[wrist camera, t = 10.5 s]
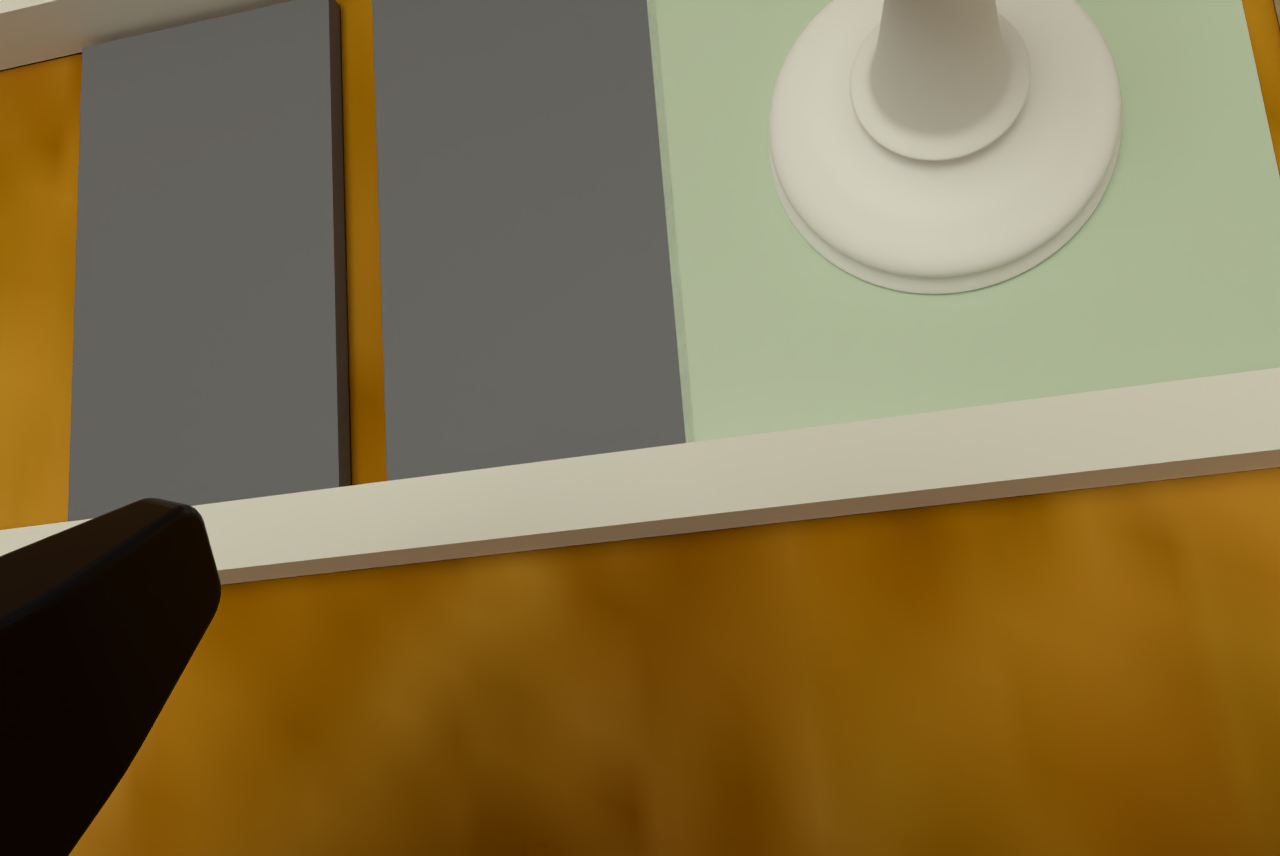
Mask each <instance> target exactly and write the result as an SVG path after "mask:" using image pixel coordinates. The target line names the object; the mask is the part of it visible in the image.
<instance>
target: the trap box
mask: <svg viewBox="0 0 1280 856" xmlns="http://www.w3.org/2000/svg"><path fill="white" fill-rule="evenodd" d="M649 3H650V2H649ZM650 4H651V3H650ZM1274 4H1275V8H1276V13H1277V17H1278V22H1279V26H1280V0H1274ZM372 5H373V38H374V70H375V103H376V135H377V168H378V201H379V233H380V266H381V298H382V331H383V363H384V396H385V429H386V461H387V481H383V482H376V483H368V484H360V485H352V486H351V469H350V427H349V385H348V343H347V300H346V258H345V216H344V174H343V132H342V90H341V48H340V6H339V4H338V3H337V2H336V1H335V0H0V70H4V69H8V68H13V67H17V66H22V65H26V64H31V63H35V62H40V61H44V60H49V59H53V58H58V57H62V56H67V55H71V54H76V53H80V52H82V75H81V108H80V141H79V174H78V207H77V240H76V273H75V306H74V339H73V372H72V405H71V438H70V471H69V504H68V522H61V523H53V524H46V525H38V526H30V527H22V528H14V529H6V530H0V556H2V555H4V554H7V553H9V552H12V551H14V550H17V549H19V548H22V547H24V546H27V545H29V544H32V543H34V542H37V541H39V540H42V539H44V538H46V537H49V536H51V535H54V534H56V533H59V532H61V531H64V530H66V529H69V528H71V527H74V526H76V525H79V524H81V523H84V522H86V521H89V520H91V519H93V518H96V517H98V516H101V515H103V514H106V513H108V512H111V511H113V510H116V509H118V508H121V507H123V506H126V505H128V504H131V503H133V502H136V501H138V500H141V499H144V498H159V499H164V500H168V501H173V502H177V503H182V504H187V505H190V506H192V507H194V508H195V509H196V510H197V511H198V512H199V513H200V514H201V516H202V518H203V520H204V523H205V527H206V530H207V534H208V537H209V541H210V545H211V548H212V552H213V556H214V559H215V563H216V566H217V570H218V574H219V577H220V582H221V585H223V584H232V583H241V582H250V581H259V580H268V579H277V578H286V577H295V576H304V575H313V574H322V573H331V572H340V571H349V570H358V569H367V568H376V567H385V566H394V565H403V564H412V563H421V562H430V561H439V560H448V559H457V558H466V557H475V556H484V555H493V554H502V553H511V552H520V551H529V550H538V549H547V548H556V547H565V546H574V545H583V544H592V543H601V542H610V541H619V540H628V539H637V538H646V537H655V536H664V535H673V534H682V533H691V532H700V531H709V530H718V529H727V528H736V527H745V526H754V525H763V524H772V523H781V522H790V521H799V520H808V519H817V518H826V517H835V516H844V515H853V514H862V513H871V512H880V511H889V510H898V509H907V508H916V507H925V506H934V505H943V504H952V503H961V502H970V501H979V500H988V499H997V498H1006V497H1015V496H1024V495H1033V494H1042V493H1051V492H1060V491H1069V490H1078V489H1087V488H1096V487H1105V486H1114V485H1123V484H1132V483H1141V482H1150V481H1159V480H1168V479H1177V478H1186V477H1195V476H1204V475H1213V474H1222V473H1231V472H1240V471H1249V470H1258V469H1267V468H1276V467H1280V367H1279V368H1271V369H1263V370H1256V371H1248V372H1240V373H1232V374H1224V375H1216V376H1208V377H1201V378H1193V379H1185V380H1177V381H1169V382H1161V383H1153V384H1146V385H1138V386H1130V387H1122V388H1114V389H1106V390H1098V391H1091V392H1083V393H1075V394H1067V395H1059V396H1051V397H1043V398H1036V399H1028V400H1020V401H1012V402H1004V403H996V404H988V405H981V406H973V407H965V408H957V409H949V410H941V411H933V412H926V413H918V414H910V415H902V416H894V417H886V418H878V419H871V420H863V421H855V422H847V423H839V424H831V425H823V426H816V427H808V428H800V429H792V430H784V431H776V432H768V433H761V434H753V435H745V436H737V437H729V438H721V439H713V440H706V441H698V442H690V443H686V435H685V431H687V430H685V426H684V424H685V423H684V421H685V420H684V419H685V417H687V416H688V415H687V416H685V417H684V415H683V408H684V407H683V405H684V404H686V403H684V404H683V403H682V401H683V400H684V399H685V398H684V399H683V400H682V395H683V394H682V393H681V390H682V389H681V388H682V387H681V382H682V381H683V380H682V381H680V378H681V377H680V371H681V370H679V359H680V358H679V359H678V352H679V350H680V349H679V350H678V348H677V345H678V344H677V339H678V337H679V336H678V337H677V336H676V324H675V321H676V319H677V317H676V319H675V314H674V313H675V312H674V302H673V298H674V297H673V293H674V291H672V286H673V287H674V285H672V280H671V268H670V264H671V263H670V260H671V259H670V257H669V246H668V235H667V234H668V233H667V230H668V229H667V224H668V223H667V224H666V212H665V201H664V195H665V194H664V190H665V189H664V188H663V178H662V170H663V169H662V167H661V156H662V155H663V153H662V155H661V154H660V151H661V150H662V149H663V148H662V149H661V150H660V145H661V144H660V145H659V133H658V122H661V121H659V120H658V122H657V111H659V110H657V111H656V100H655V99H656V98H655V90H656V89H655V88H654V79H655V78H654V77H655V75H654V77H653V70H654V69H653V66H652V65H653V64H652V55H651V53H652V51H651V46H652V45H651V44H652V43H650V36H651V35H650V32H651V29H650V32H649V23H650V22H649V21H648V14H649V13H648V12H649V11H648V9H647V0H372ZM652 5H653V4H652ZM649 8H650V7H649ZM654 9H655V8H654ZM654 9H653V10H654ZM654 12H655V11H654ZM654 12H653V14H654ZM655 17H656V16H655ZM649 18H650V17H649ZM653 18H654V17H653ZM653 18H652V19H653ZM650 19H651V18H650ZM655 19H656V18H655ZM650 21H652V20H650ZM655 22H656V21H655ZM653 23H654V22H653ZM650 24H651V23H650ZM654 24H655V23H654ZM657 26H658V25H657ZM650 27H651V26H650ZM652 29H653V27H652ZM656 29H658V28H656ZM656 31H657V30H656ZM652 32H654V31H652ZM654 34H655V32H654ZM654 34H653V35H654ZM657 35H658V33H657ZM653 38H655V37H653ZM656 39H658V38H656ZM652 40H653V39H652ZM655 41H657V40H655ZM651 42H652V41H651ZM656 43H657V42H656ZM657 45H658V44H657ZM658 46H659V45H658ZM653 47H654V46H653ZM658 48H659V47H658ZM656 49H657V47H656ZM659 50H660V48H659ZM655 51H656V50H655ZM655 51H653V53H654V52H655ZM656 56H657V55H656ZM658 56H659V55H658ZM653 57H654V55H653ZM656 60H658V59H656ZM660 60H661V59H660ZM657 63H659V62H657ZM657 63H656V64H657ZM659 67H660V66H659ZM659 67H658V68H659ZM655 68H656V67H655ZM658 68H657V69H658ZM659 69H660V68H659ZM655 70H656V69H655ZM655 70H654V71H655ZM658 71H659V72H660V70H658ZM659 75H660V74H659ZM658 77H659V76H658ZM656 78H657V77H656ZM661 79H662V77H661ZM656 80H658V78H657V79H656ZM656 83H657V82H656ZM661 84H662V81H661ZM657 85H658V84H657ZM656 87H657V86H656ZM661 88H662V86H661ZM662 91H663V90H662ZM661 93H662V92H661ZM657 94H658V93H657ZM659 94H660V93H659ZM662 95H663V94H662ZM658 97H659V96H658ZM660 97H661V96H660ZM662 99H663V97H662ZM658 101H659V99H658ZM662 101H663V100H662ZM657 103H658V102H657ZM664 104H665V103H664ZM657 106H658V104H657ZM657 108H658V107H657ZM659 109H660V107H659ZM664 110H665V108H664ZM661 112H662V111H661ZM659 114H660V113H659ZM664 114H665V113H664ZM662 115H663V114H662ZM659 117H660V116H659ZM665 117H666V116H665ZM665 117H664V118H665ZM662 118H663V117H662ZM662 118H661V119H662ZM662 120H663V119H662ZM664 121H665V120H664ZM664 121H663V122H664ZM665 123H666V122H665ZM662 126H663V125H662ZM665 127H666V126H665ZM661 128H662V127H661ZM662 129H663V128H662ZM662 129H661V130H662ZM663 130H664V129H663ZM665 131H666V130H665ZM660 132H661V131H660ZM663 133H664V132H663ZM665 133H666V132H665ZM660 134H662V133H660ZM662 135H663V134H662ZM665 135H666V134H665ZM660 136H661V135H660ZM661 137H662V136H661ZM661 137H660V139H661ZM667 138H668V137H667ZM664 139H665V138H664ZM660 141H662V140H660ZM667 141H668V139H667ZM665 142H666V141H665ZM660 143H661V142H660ZM662 143H664V141H663V142H662ZM663 145H664V144H663ZM667 146H668V145H667ZM664 148H665V147H664ZM664 150H665V149H664ZM667 150H668V149H667ZM662 151H663V150H662ZM665 151H666V150H665ZM665 151H664V152H665ZM666 153H667V152H666ZM666 153H665V154H666ZM668 153H669V152H668ZM660 155H661V156H660ZM665 157H666V156H665ZM668 157H669V156H668ZM663 158H664V157H663ZM666 159H667V158H666ZM666 161H667V160H666ZM668 161H669V158H668ZM663 162H664V161H663ZM669 164H670V163H669ZM663 166H664V165H663ZM668 166H669V165H668ZM668 166H666V167H668ZM663 168H664V167H663ZM668 168H669V167H668ZM667 170H668V169H667ZM665 171H666V170H665ZM670 172H671V171H670ZM663 174H664V172H663ZM666 174H667V173H666ZM670 174H671V173H670ZM665 177H666V176H665ZM668 178H669V177H668ZM665 180H666V179H665ZM669 180H670V179H669ZM670 183H671V182H670ZM665 186H666V185H665ZM669 187H670V186H668V187H667V188H669ZM671 187H672V186H671ZM663 189H664V190H663ZM671 189H672V188H671ZM667 190H668V189H667ZM670 191H672V190H670ZM666 193H667V192H666ZM671 193H672V192H671ZM667 195H668V194H667ZM667 195H666V196H667ZM669 195H670V194H669ZM672 196H673V195H672ZM670 197H671V196H670ZM670 197H669V198H668V199H670ZM672 198H673V197H672ZM665 200H666V197H665ZM667 201H669V200H667ZM673 203H674V202H673ZM666 204H667V202H666ZM671 204H672V203H671ZM668 207H669V206H668ZM666 209H667V208H666ZM668 209H669V208H668ZM673 211H674V210H672V212H673ZM670 214H671V213H670ZM667 215H668V214H667ZM674 216H675V215H674ZM674 216H673V217H674ZM667 217H668V216H667ZM671 217H672V215H671ZM669 218H670V217H669ZM674 219H675V217H674ZM667 220H668V219H667ZM674 221H675V220H674ZM669 222H670V221H669ZM669 224H670V223H669ZM674 224H675V223H674ZM669 226H670V225H669ZM672 226H673V225H672ZM672 226H671V229H674V228H672ZM671 231H672V230H671ZM673 234H675V233H673ZM674 236H675V235H674ZM672 238H673V237H672ZM672 238H671V239H672ZM674 238H675V237H674ZM669 240H670V238H669ZM675 242H676V241H675ZM671 244H673V243H671ZM671 244H669V245H670V246H671ZM675 247H676V246H675ZM677 247H678V246H677ZM677 250H678V248H677ZM673 251H674V249H673ZM673 251H671V252H672V253H673ZM675 252H676V250H675ZM677 253H678V251H677ZM677 256H678V255H677ZM674 257H676V256H674ZM674 259H675V258H674ZM672 263H673V262H672ZM675 263H676V262H675ZM678 263H679V262H678ZM678 263H677V264H678ZM676 266H677V265H676ZM674 267H675V266H674ZM675 268H676V267H675ZM675 268H674V269H675ZM672 270H673V269H672ZM676 271H677V269H676ZM676 274H677V273H676ZM678 274H679V273H678ZM676 278H677V277H676ZM677 279H679V278H677ZM673 280H674V279H673ZM675 280H676V279H675ZM680 281H681V280H680ZM675 282H676V281H675ZM678 283H681V282H678ZM674 284H675V286H676V283H674ZM680 286H681V285H680ZM675 289H676V288H675ZM673 290H674V289H673ZM678 291H679V290H678ZM675 292H676V291H675ZM678 293H679V292H678ZM679 294H680V293H679ZM681 294H682V293H681ZM675 295H676V294H675ZM680 296H681V295H680ZM677 298H678V297H677ZM680 298H681V297H680ZM680 302H681V301H680ZM678 303H679V302H678ZM676 304H677V303H676ZM676 304H675V305H676ZM679 305H680V303H679ZM677 306H678V305H677ZM681 306H682V304H681ZM682 309H683V308H682ZM676 310H677V309H676ZM681 311H682V310H681ZM676 312H677V311H676ZM682 313H683V312H682ZM677 314H678V316H679V310H678V313H677ZM683 314H684V313H683ZM680 317H681V316H680ZM681 318H682V317H681ZM683 318H684V316H683ZM683 320H684V319H683ZM681 321H682V320H680V322H681ZM680 322H679V323H680ZM676 323H677V322H676ZM684 326H685V324H684ZM677 329H678V328H677ZM679 330H680V329H679ZM679 330H678V333H679ZM684 330H685V328H684ZM680 332H681V331H680ZM681 334H682V333H681ZM679 335H680V334H679ZM684 335H685V334H684ZM679 339H680V337H679ZM682 340H683V339H682ZM681 343H682V342H681ZM683 343H684V342H683ZM684 345H685V344H684ZM685 346H687V345H685ZM681 349H682V348H681ZM684 349H685V348H684ZM684 349H682V350H684ZM682 350H681V351H682ZM685 352H686V351H685ZM685 352H684V353H685ZM681 353H682V352H681ZM686 354H687V353H686ZM679 357H680V356H679ZM683 357H684V355H683ZM687 359H688V358H687ZM685 360H686V359H685ZM687 361H688V360H687ZM682 362H683V361H682ZM683 363H684V362H683ZM681 364H682V363H681ZM687 365H688V364H687ZM682 366H684V365H682ZM687 367H688V366H687ZM687 369H688V368H687ZM684 370H685V368H684ZM686 371H687V370H686ZM684 372H685V371H684ZM685 373H686V372H685ZM685 373H683V374H685ZM688 375H689V374H687V376H688ZM684 376H685V375H684ZM684 379H685V378H684ZM686 379H687V378H686ZM687 381H688V380H687ZM687 381H686V384H687ZM683 382H684V381H683ZM683 382H682V384H683ZM688 382H689V381H688ZM686 384H685V385H686ZM689 384H690V383H689ZM682 386H683V385H682ZM688 386H689V385H688ZM684 387H685V386H684ZM686 387H687V386H686ZM689 390H690V389H689ZM688 392H689V391H688ZM685 393H686V392H685ZM686 394H687V393H686ZM684 395H685V394H684ZM686 396H687V395H686ZM686 396H685V397H686ZM690 396H691V395H690ZM683 397H684V396H683ZM688 398H689V397H687V399H688ZM687 399H685V400H687ZM683 402H684V401H683ZM688 403H689V402H688ZM687 405H689V404H687ZM685 406H686V405H685ZM685 408H687V407H685ZM689 409H690V407H689ZM684 410H685V409H684ZM688 411H689V410H688ZM690 411H691V410H690ZM688 413H690V412H688ZM684 414H685V411H684ZM691 415H692V413H691ZM688 417H689V416H688ZM692 417H693V416H692ZM686 420H687V418H686ZM689 420H690V419H689ZM687 421H688V420H687ZM687 421H686V422H687ZM691 422H693V421H691ZM688 424H689V422H688ZM688 424H687V425H688ZM693 424H694V423H693ZM691 426H692V424H691ZM686 427H687V426H686ZM693 428H694V426H693ZM687 429H688V428H687ZM691 430H692V428H691ZM691 432H692V431H691ZM691 432H690V433H691ZM686 433H687V432H686ZM690 435H691V434H690ZM687 436H688V435H687ZM689 440H690V439H689ZM694 440H695V439H694ZM690 441H691V440H690Z"/></svg>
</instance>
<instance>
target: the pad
mask: <svg viewBox="0 0 1280 856" xmlns="http://www.w3.org/2000/svg"><path fill="white" fill-rule="evenodd" d="M831 1H833V0H647V9H648V11H649V12H648V13H649V14H648V21H649V22H650V23H651V24H650V23H649V32H650V29H651V32H650V35H651V36H650V43H652V44H651V45H652V46H651V51H652V53H651V55H652V64H653V65H652V66H653V69H654V70H655V69H656V70H655V71H654V70H653V77H654V75H655V77H654V78H655V79H654V88H655V89H656V90H655V98H656V99H655V100H656V111H657V110H659V111H657V122H658V120H659V121H661V122H658V133H659V145H660V144H661V145H660V150H661V149H662V148H663V149H662V150H663V151H662V150H661V151H660V154H661V155H662V153H663V155H662V156H661V155H660V156H661V167H662V169H663V170H662V178H663V188H664V189H665V190H664V189H663V190H664V194H665V195H664V201H665V212H666V224H667V223H668V224H667V229H668V230H667V233H668V234H667V235H668V246H669V257H670V259H671V260H670V263H671V264H670V268H671V280H672V285H674V287H673V286H672V291H674V293H673V297H674V298H673V302H674V312H675V313H674V314H675V319H676V317H677V319H676V321H675V324H676V336H677V337H678V336H679V337H680V339H679V337H678V339H677V344H678V345H677V348H678V350H679V349H680V350H679V352H678V359H679V358H680V359H679V370H681V371H680V377H681V378H680V381H682V380H683V381H684V382H683V381H682V382H683V384H682V382H681V387H682V388H681V389H682V390H681V393H682V394H683V395H682V400H683V399H684V398H685V399H687V397H689V398H688V399H687V400H685V399H684V400H683V401H684V402H683V401H682V403H683V404H684V403H686V404H684V405H683V407H684V408H683V415H684V417H685V416H687V415H688V416H689V417H688V416H687V417H685V419H684V420H685V421H684V423H685V424H684V426H685V430H687V431H685V435H686V443H690V442H698V441H706V440H713V439H721V438H729V437H737V436H745V435H753V434H761V433H768V432H776V431H784V430H792V429H800V428H808V427H816V426H823V425H831V424H839V423H847V422H855V421H863V420H871V419H878V418H886V417H894V416H902V415H910V414H918V413H926V412H933V411H941V410H949V409H957V408H965V407H973V406H981V405H988V404H996V403H1004V402H1012V401H1020V400H1028V399H1036V398H1043V397H1051V396H1059V395H1067V394H1075V393H1083V392H1091V391H1098V390H1106V389H1114V388H1122V387H1130V386H1138V385H1146V384H1153V383H1161V382H1169V381H1177V380H1185V379H1193V378H1201V377H1208V376H1216V375H1224V374H1232V373H1240V372H1248V371H1256V370H1263V369H1271V368H1279V367H1280V177H1279V172H1278V168H1277V163H1276V158H1275V154H1274V149H1273V144H1272V140H1271V135H1270V130H1269V126H1268V121H1267V117H1266V112H1265V107H1264V103H1263V98H1262V93H1261V89H1260V84H1259V79H1258V75H1257V70H1256V65H1255V61H1254V56H1253V51H1252V47H1251V42H1250V37H1249V33H1248V28H1247V23H1246V19H1245V14H1244V9H1243V5H1242V0H1074V1H1075V2H1076V3H1077V4H1078V5H1079V6H1080V7H1081V8H1082V9H1083V10H1084V11H1085V12H1086V13H1087V15H1088V16H1089V17H1090V18H1091V20H1092V21H1093V22H1094V24H1095V25H1096V27H1097V28H1098V30H1099V31H1100V33H1101V34H1102V36H1103V38H1104V40H1105V42H1106V44H1107V46H1108V48H1109V50H1110V53H1111V55H1112V58H1113V61H1114V64H1115V67H1116V71H1117V75H1118V80H1119V86H1120V95H1121V140H1120V147H1119V153H1118V157H1117V161H1116V165H1115V168H1114V171H1113V174H1112V177H1111V180H1110V182H1109V184H1108V187H1107V189H1106V191H1105V193H1104V195H1103V197H1102V199H1101V200H1100V202H1099V204H1098V205H1097V207H1096V209H1095V210H1094V212H1093V213H1092V214H1091V216H1090V217H1089V219H1088V220H1087V221H1086V222H1085V224H1084V225H1083V226H1082V227H1081V228H1080V230H1079V231H1078V232H1077V233H1076V234H1075V235H1074V236H1073V237H1072V238H1071V239H1070V240H1069V241H1068V242H1067V243H1066V244H1065V245H1063V246H1062V247H1061V248H1060V249H1059V250H1057V251H1056V252H1055V253H1054V254H1052V255H1051V256H1050V257H1048V258H1047V259H1045V260H1044V261H1042V262H1041V263H1039V264H1038V265H1036V266H1034V267H1033V268H1031V269H1029V270H1027V271H1025V272H1023V273H1021V274H1019V275H1017V276H1015V277H1013V278H1010V279H1008V280H1005V281H1003V282H1000V283H997V284H994V285H991V286H988V287H984V288H980V289H975V290H971V291H965V292H958V293H948V294H920V293H910V292H903V291H897V290H892V289H888V288H884V287H881V286H878V285H875V284H872V283H869V282H866V281H864V280H861V279H859V278H857V277H855V276H853V275H851V274H849V273H847V272H845V271H843V270H842V269H840V268H838V267H837V266H835V265H834V264H832V263H831V262H830V261H828V260H827V259H826V258H824V257H823V256H822V255H821V254H819V253H818V252H817V251H816V250H815V249H814V248H813V247H812V246H811V245H810V244H809V243H808V242H807V241H806V240H805V239H804V238H803V237H802V235H801V234H800V233H799V232H798V230H797V229H796V228H795V226H794V225H793V223H792V222H791V220H790V219H789V217H788V215H787V214H786V212H785V210H784V208H783V206H782V204H781V202H780V199H779V197H778V194H777V192H776V189H775V185H774V182H773V178H772V174H771V169H770V162H769V150H768V138H769V112H770V104H771V99H772V94H773V90H774V86H775V83H776V80H777V77H778V74H779V72H780V69H781V67H782V65H783V63H784V60H785V58H786V56H787V55H788V53H789V51H790V49H791V48H792V46H793V44H794V43H795V41H796V40H797V38H798V37H799V35H800V34H801V33H802V31H803V30H804V29H805V28H806V26H807V25H808V24H809V23H810V22H811V21H812V19H813V18H814V17H815V16H816V15H817V14H818V13H819V12H820V11H821V10H822V9H823V8H825V7H826V6H827V5H828V4H829V3H830V2H831ZM649 2H650V3H651V4H650V3H649ZM652 4H653V5H652ZM649 7H650V8H649ZM654 8H655V9H654ZM653 9H654V10H653ZM654 11H655V12H654ZM653 12H654V14H653ZM655 16H656V17H655ZM649 17H650V18H651V19H650V18H649ZM653 17H654V18H653ZM652 18H653V19H652ZM655 18H656V19H655ZM650 20H652V21H650ZM655 21H656V22H655ZM653 22H654V23H655V24H654V23H653ZM657 25H658V26H657ZM650 26H651V27H650ZM652 27H653V29H652ZM656 28H658V29H656ZM656 30H657V31H656ZM652 31H654V32H655V34H654V32H652ZM657 33H658V35H657ZM653 34H654V35H653ZM653 37H655V38H653ZM656 38H658V39H656ZM652 39H653V40H652ZM655 40H657V41H655ZM651 41H652V42H651ZM656 42H657V43H656ZM657 44H658V45H659V46H658V45H657ZM653 46H654V47H653ZM656 47H657V49H656ZM658 47H659V48H660V50H659V48H658ZM655 50H656V51H655ZM653 51H655V52H654V53H653ZM653 55H654V57H653ZM656 55H657V56H656ZM658 55H659V56H658ZM656 59H658V60H656ZM660 59H661V60H660ZM657 62H659V63H657ZM656 63H657V64H656ZM659 66H660V67H659ZM655 67H656V68H655ZM658 67H659V68H660V69H659V68H658ZM657 68H658V69H657ZM658 70H660V72H659V71H658ZM659 74H660V75H659ZM658 76H659V77H658ZM656 77H657V78H658V80H656V79H657V78H656ZM661 77H662V79H661ZM661 81H662V84H661ZM656 82H657V83H656ZM657 84H658V85H657ZM656 86H657V87H656ZM661 86H662V88H661ZM662 90H663V91H662ZM661 92H662V93H661ZM657 93H658V94H657ZM659 93H660V94H659ZM662 94H663V95H662ZM658 96H659V97H658ZM660 96H661V97H660ZM662 97H663V99H662ZM658 99H659V101H658ZM662 100H663V101H662ZM657 102H658V103H657ZM664 103H665V104H664ZM657 104H658V106H657ZM657 107H658V108H657ZM659 107H660V109H659ZM664 108H665V110H664ZM661 111H662V112H661ZM659 113H660V114H659ZM664 113H665V114H664ZM662 114H663V115H662ZM659 116H660V117H659ZM665 116H666V117H665ZM662 117H663V118H662ZM664 117H665V118H664ZM661 118H662V119H663V120H662V119H661ZM664 120H665V121H664ZM663 121H664V122H663ZM665 122H666V123H665ZM662 125H663V126H662ZM665 126H666V127H665ZM661 127H662V128H663V129H664V130H663V129H662V128H661ZM661 129H662V130H661ZM665 130H666V131H665ZM660 131H661V132H660ZM663 132H664V133H663ZM665 132H666V133H665ZM660 133H662V134H663V135H662V134H660ZM665 134H666V135H665ZM660 135H661V136H662V137H661V136H660ZM660 137H661V139H660ZM667 137H668V138H667ZM664 138H665V139H664ZM667 139H668V141H667ZM660 140H662V141H660ZM663 141H664V143H662V142H663ZM665 141H666V142H665ZM660 142H661V143H660ZM663 144H664V145H663ZM667 145H668V146H667ZM664 147H665V148H664ZM664 149H665V150H666V151H665V150H664ZM667 149H668V150H667ZM664 151H665V152H664ZM666 152H667V153H666ZM668 152H669V153H668ZM665 153H666V154H665ZM665 156H666V157H665ZM668 156H669V157H668ZM663 157H664V158H663ZM666 158H667V159H666ZM668 158H669V161H668ZM666 160H667V161H666ZM663 161H664V162H663ZM669 163H670V164H669ZM663 165H664V166H663ZM668 165H669V166H668ZM666 166H668V167H669V168H668V167H666ZM663 167H664V168H663ZM667 169H668V170H667ZM665 170H666V171H665ZM670 171H671V172H670ZM663 172H664V174H663ZM666 173H667V174H666ZM670 173H671V174H670ZM665 176H666V177H665ZM668 177H669V178H668ZM665 179H666V180H665ZM669 179H670V180H669ZM670 182H671V183H670ZM665 185H666V186H665ZM668 186H670V187H669V188H667V187H668ZM671 186H672V187H671ZM671 188H672V189H671ZM667 189H668V190H667ZM670 190H672V191H670ZM666 192H667V193H666ZM671 192H672V193H671ZM667 194H668V195H667ZM669 194H670V195H669ZM666 195H667V196H666ZM672 195H673V196H672ZM670 196H671V197H670ZM665 197H666V200H665ZM669 197H670V199H668V198H669ZM672 197H673V198H672ZM667 200H669V201H667ZM666 202H667V204H666ZM673 202H674V203H673ZM671 203H672V204H671ZM668 206H669V207H668ZM666 208H667V209H666ZM668 208H669V209H668ZM672 210H674V211H673V212H672ZM670 213H671V214H670ZM667 214H668V215H667ZM671 215H672V217H671ZM674 215H675V216H674ZM667 216H668V217H667ZM673 216H674V217H675V219H674V217H673ZM669 217H670V218H669ZM667 219H668V220H667ZM674 220H675V221H674ZM669 221H670V222H669ZM669 223H670V224H669ZM674 223H675V224H674ZM669 225H670V226H669ZM672 225H673V226H672ZM671 226H672V228H674V229H671ZM671 230H672V231H671ZM673 233H675V234H673ZM674 235H675V236H674ZM672 237H673V238H672ZM674 237H675V238H674ZM669 238H670V240H669ZM671 238H672V239H671ZM675 241H676V242H675ZM671 243H673V244H671ZM669 244H671V246H670V245H669ZM675 246H676V247H675ZM677 246H678V247H677ZM677 248H678V250H677ZM673 249H674V251H673ZM675 250H676V252H675ZM671 251H673V253H672V252H671ZM677 251H678V253H677ZM677 255H678V256H677ZM674 256H676V257H674ZM674 258H675V259H674ZM672 262H673V263H672ZM675 262H676V263H675ZM678 262H679V263H678ZM677 263H678V264H677ZM676 265H677V266H676ZM674 266H675V267H676V268H675V267H674ZM674 268H675V269H674ZM672 269H673V270H672ZM676 269H677V271H676ZM676 273H677V274H676ZM678 273H679V274H678ZM676 277H677V278H679V279H677V278H676ZM673 279H674V280H673ZM675 279H676V280H675ZM680 280H681V281H680ZM675 281H676V282H675ZM678 282H681V283H678ZM674 283H676V286H675V284H674ZM680 285H681V286H680ZM675 288H676V289H675ZM673 289H674V290H673ZM678 290H679V291H678ZM675 291H676V292H675ZM678 292H679V293H680V294H679V293H678ZM681 293H682V294H681ZM675 294H676V295H675ZM680 295H681V296H680ZM677 297H678V298H677ZM680 297H681V298H680ZM680 301H681V302H680ZM678 302H679V303H680V305H679V303H678ZM676 303H677V304H676ZM675 304H676V305H675ZM681 304H682V306H681ZM677 305H678V306H677ZM682 308H683V309H682ZM676 309H677V310H676ZM678 310H679V316H678V314H677V313H678ZM681 310H682V311H681ZM676 311H677V312H676ZM682 312H683V313H684V314H683V313H682ZM680 316H681V317H682V318H681V317H680ZM683 316H684V318H683ZM683 319H684V320H683ZM680 320H682V321H681V322H680ZM676 322H677V323H676ZM679 322H680V323H679ZM684 324H685V326H684ZM677 328H678V329H677ZM684 328H685V330H684ZM679 329H680V330H679ZM678 330H679V333H678ZM680 331H681V332H680ZM681 333H682V334H681ZM679 334H680V335H679ZM684 334H685V335H684ZM682 339H683V340H682ZM681 342H682V343H681ZM683 342H684V343H683ZM684 344H685V345H687V346H685V345H684ZM681 348H682V349H684V348H685V349H684V350H682V349H681ZM681 350H682V351H681ZM685 351H686V352H685ZM681 352H682V353H681ZM684 352H685V353H684ZM686 353H687V354H686ZM683 355H684V357H683ZM679 356H680V357H679ZM687 358H688V359H687ZM685 359H686V360H685ZM687 360H688V361H687ZM682 361H683V362H684V363H683V362H682ZM681 363H682V364H681ZM687 364H688V365H687ZM682 365H684V366H682ZM687 366H688V367H687ZM684 368H685V370H684ZM687 368H688V369H687ZM686 370H687V371H686ZM684 371H685V372H686V373H685V372H684ZM683 373H685V374H683ZM687 374H689V375H688V376H687ZM684 375H685V376H684ZM684 378H685V379H684ZM686 378H687V379H686ZM687 380H688V381H689V382H688V381H687ZM686 381H687V384H686ZM689 383H690V384H689ZM685 384H686V385H685ZM682 385H683V386H682ZM688 385H689V386H688ZM684 386H685V387H684ZM686 386H687V387H686ZM689 389H690V390H689ZM688 391H689V392H688ZM685 392H686V393H687V394H686V393H685ZM684 394H685V395H684ZM686 395H687V396H686ZM690 395H691V396H690ZM683 396H684V397H683ZM685 396H686V397H685ZM688 402H689V403H688ZM687 404H689V405H687ZM685 405H686V406H685ZM685 407H687V408H685ZM689 407H690V409H689ZM684 409H685V410H684ZM688 410H689V411H688ZM690 410H691V411H690ZM684 411H685V414H684ZM688 412H690V413H688ZM691 413H692V415H691ZM692 416H693V417H692ZM686 418H687V420H688V421H687V420H686ZM689 419H690V420H689ZM686 421H687V422H686ZM691 421H693V422H691ZM688 422H689V424H688ZM693 423H694V424H693ZM687 424H688V425H687ZM691 424H692V426H691ZM686 426H687V427H686ZM693 426H694V428H693ZM687 428H688V429H687ZM691 428H692V430H691ZM691 431H692V432H691ZM686 432H687V433H686ZM690 432H691V433H690ZM690 434H691V435H690ZM687 435H688V436H687ZM689 439H690V440H691V441H690V440H689ZM694 439H695V440H694Z"/></svg>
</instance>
